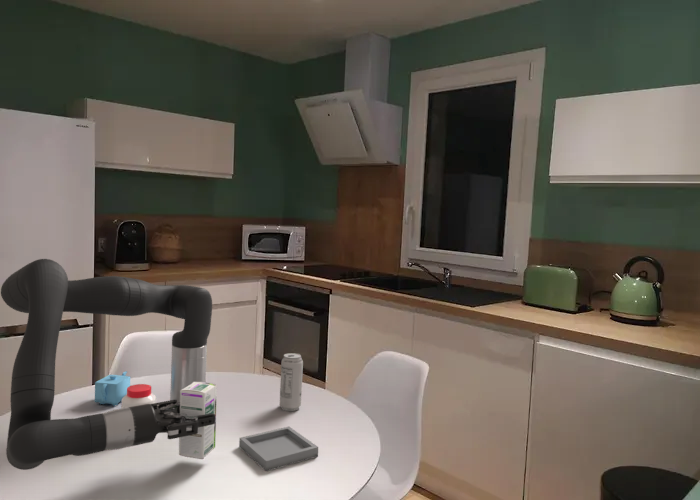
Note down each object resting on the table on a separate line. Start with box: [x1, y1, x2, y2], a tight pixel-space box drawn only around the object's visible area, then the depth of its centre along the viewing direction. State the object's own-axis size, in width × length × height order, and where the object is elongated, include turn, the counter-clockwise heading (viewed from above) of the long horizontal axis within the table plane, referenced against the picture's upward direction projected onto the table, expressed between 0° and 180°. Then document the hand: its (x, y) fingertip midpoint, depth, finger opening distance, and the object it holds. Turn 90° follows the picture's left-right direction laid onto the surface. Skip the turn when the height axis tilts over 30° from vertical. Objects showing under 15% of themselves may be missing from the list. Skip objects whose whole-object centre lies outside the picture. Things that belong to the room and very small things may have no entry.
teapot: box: [94, 371, 131, 407], centre depth 145 cm, size 12×6×8 cm, turn 173°
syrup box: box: [178, 382, 218, 460], centre depth 112 cm, size 6×6×14 cm
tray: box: [238, 426, 319, 472], centre depth 120 cm, size 13×13×2 cm
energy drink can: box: [279, 352, 304, 412], centre depth 147 cm, size 6×6×15 cm
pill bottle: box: [120, 383, 157, 409], centre depth 126 cm, size 8×8×11 cm
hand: (207, 411), depth 113 cm, fingers closed on syrup box, 8 cm apart
